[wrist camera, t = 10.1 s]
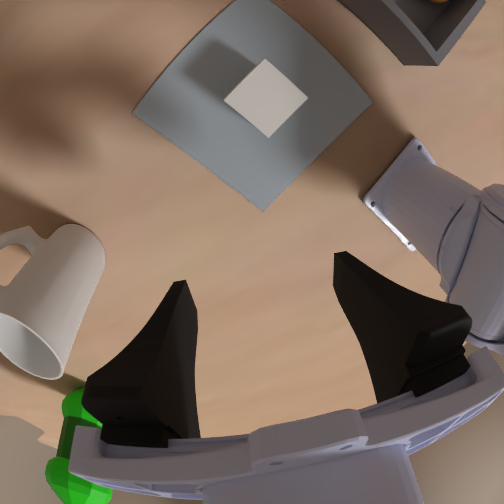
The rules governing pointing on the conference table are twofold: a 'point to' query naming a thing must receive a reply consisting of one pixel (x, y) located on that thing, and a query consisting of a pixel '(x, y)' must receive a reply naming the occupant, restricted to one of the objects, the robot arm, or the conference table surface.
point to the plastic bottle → (58, 477)
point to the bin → (417, 25)
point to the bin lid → (253, 99)
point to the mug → (48, 297)
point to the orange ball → (438, 1)
